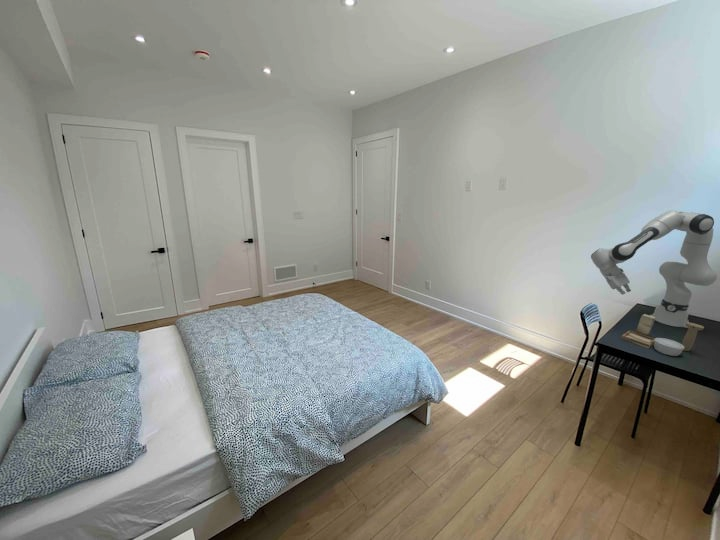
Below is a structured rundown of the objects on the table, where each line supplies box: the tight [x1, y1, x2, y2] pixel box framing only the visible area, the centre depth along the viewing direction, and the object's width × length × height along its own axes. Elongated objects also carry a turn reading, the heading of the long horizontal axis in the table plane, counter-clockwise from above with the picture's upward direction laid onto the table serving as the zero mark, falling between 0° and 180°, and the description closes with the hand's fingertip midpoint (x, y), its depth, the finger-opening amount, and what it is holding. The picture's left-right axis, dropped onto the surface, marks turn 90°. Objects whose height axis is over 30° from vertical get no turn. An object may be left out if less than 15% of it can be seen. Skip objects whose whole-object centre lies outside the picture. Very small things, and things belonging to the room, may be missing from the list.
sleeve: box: [635, 313, 656, 337], centre depth 172 cm, size 5×5×12 cm
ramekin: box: [653, 337, 685, 357], centre depth 156 cm, size 11×11×5 cm
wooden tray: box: [620, 330, 655, 349], centre depth 167 cm, size 13×12×2 cm
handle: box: [681, 322, 705, 352], centre depth 157 cm, size 5×6×15 cm
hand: (626, 292), depth 178 cm, fingers open, 8 cm apart
